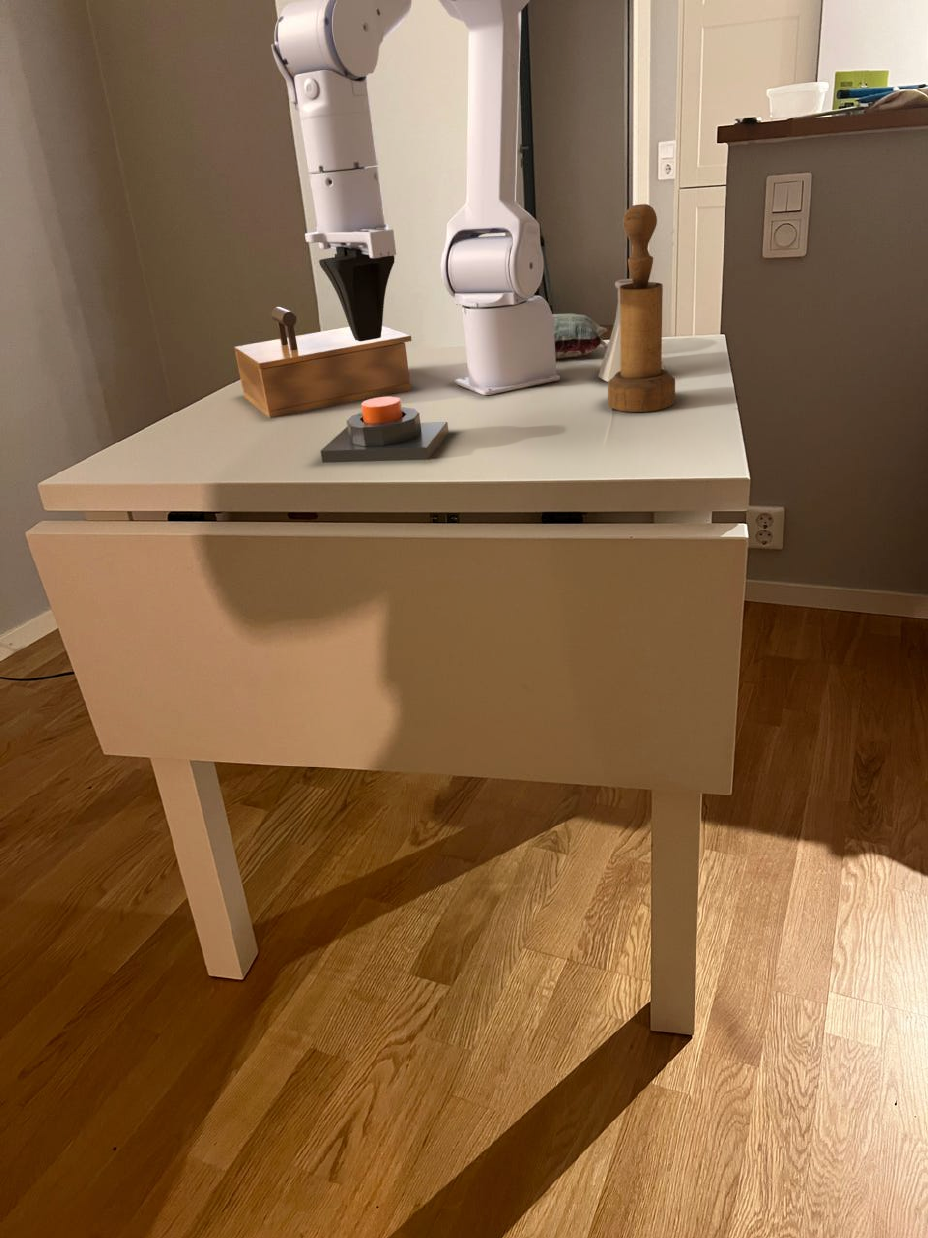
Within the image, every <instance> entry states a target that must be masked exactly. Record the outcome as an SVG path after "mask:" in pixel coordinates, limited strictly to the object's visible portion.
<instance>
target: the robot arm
mask: <svg viewBox="0 0 928 1238" xmlns="http://www.w3.org/2000/svg"><path fill="white" fill-rule="evenodd" d="M412 1H413V0H299V1H294V2H290V3H288V4H287V5H286V6H285V7H284V8H283V10H282V11H281V13H280V16H279V17H278V19H277V21H276V24H275V28H274V43H272V44H271V50H272V54H273V57H274V60H275V63H276V65H277V68H278V70H279V72H280V73H281V75H282V77H283V78H284V79H285V82H286V84H287V88H288V90H289V96H290V102H291V103H292V104H293V108H294V109H295V110H296V111H297V112H298V113H299V119H300V125H301V132H302V139H303V145H304V151H305V157H306V162H307V170H308V173H309V181H310V188H311V194H312V200H313V207H314V214H315V220H316V225H317V226H316V231H314V232H313V231H312V232H306V233H305V234H304V238H305V242H306V243H309V244H315V243H318V246H319V249H320V250H330V249H331V250H335V251H336V253H334V256H332V257H327V258H322V259H321V258H320V259H319V260H318V263H319V267H320V268H321V269H322V271H323V272H324V274H325V275H326V276H327V278H328V279H329V281H330V283H331V285H332V287H333V288H334V290H335V293H336V295H337V298H338V300H339V301H340V304H341V307H342V310H343V312H344V315H345V317H346V322H347V323H348V327H350V329H351V332H352V334H353V336H354V339H355V340H357V341H359V342H361V341H367V340H372V339H377V338H381V332H382V326H383V320H384V306H385V296H386V291H387V287H388V282H389V278H390V275H391V272H392V269H393V266H394V264H395V258H396V257H395V256H396V255H397V249H396V241H395V233H394V232H395V231H394V229H393V228H389V224H388V223H386V218H385V210H384V202H383V194H382V187H381V178H380V171H379V163H378V162H379V161H378V156H377V155H378V154H377V146H376V139H375V131H374V124H373V116H372V108H371V101H370V93H369V92H370V91H369V85H368V78H367V77H368V75H370V74H374V72H375V71H376V68H377V65H378V61H379V53H380V47H381V44H382V43H383V42H384V41H385V40H386V39H387V38H388V37H389V36H390V35H391V34H392V33H393V32H394V31H396V29H397V28H398V27H399V26H400V25H401V24H402V23H403V22H404V21H405V20H406V19H407V17H408V15H409V13H410V12H411V7H412V3H413V2H412ZM438 2H439V4H440V5H441V6H442V7H443V9H444V10H445V11H446V13H447V14H448V16H449V17H451V18H452V19H453V18H454V19H456V20H459V21H461V22H463V23H464V25H465V27H466V28H467V32H468V55H467V57H468V58H467V59H468V62H467V63H468V66H467V67H468V69H467V130H466V131H467V133H466V135H467V137H466V138H467V139H466V201H465V203H464V205H463V206H461V208H460V209H459V210H458V211H457V212H456V213H455V214H454V215H453V217H452V218H451V219H450V220H449V221H448V222H447V224H446V236H445V245H444V248H443V251H442V254H441V259H440V276H441V279H442V282H443V285H444V287H445V289H446V291H447V292H448V293H449V295H450V296H451V297H453V298H454V300H455V305H456V306H461V311H462V312H461V313H462V323H463V334H464V343H465V344H464V345H465V354H466V355H465V356H466V366H467V367H466V368H467V376H466V377H460V378H456V379H455V381H454V382H455V384H456V385H458V386H460V387H462V388H465V389H467V390H470V391H472V392H475V393H477V394H480V395H482V396H490V395H495V394H500V393H504V392H510V391H515V390H519V389H523V388H528V387H529V388H530V387H533V386H538V385H543V384H547V383H552V382H556V381H557V382H558V381H560V380H561V376H560V375H559V374H557V361H556V360H557V359H556V357H555V338H554V322H553V316H552V314H553V313H552V310H551V306H550V305H549V303H548V301H547V300H546V299H545V298H544V297H542V296H540V295H535V293H536V292H537V291H538V289H539V288H540V286H541V283H542V282H543V281H542V280H543V277H544V267H545V263H544V254H543V249H542V244H541V225H540V223H539V222H538V221H537V220H536V218H535V217H533V215H531V214H530V213H529V212H528V211H527V210H525V208H523V207H522V206H521V204H519V203H518V202H517V173H518V141H519V139H518V138H519V137H518V136H519V134H518V133H519V107H520V105H519V102H520V70H521V69H520V67H521V64H520V63H521V35H522V34H521V31H522V10H523V9H524V8H525V7H526V5H528V4H529V2H530V0H438ZM490 234H509V235H492V236H489V235H490ZM484 235H488V236H484Z"/></svg>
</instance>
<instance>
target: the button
mask: <svg viewBox="0 0 928 1238" xmlns="http://www.w3.org/2000/svg"><path fill="white" fill-rule="evenodd" d="M360 407H361V412H362V414H363V420H364V423H385V422H390V421H395V420H398V419H401V418H403V415H402V408H401V407H402V400H401V397H397V396H377V397H372V398H368V399H367V400H364V401H363V402H361V404H360Z"/></svg>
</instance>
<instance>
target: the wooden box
mask: <svg viewBox="0 0 928 1238" xmlns="http://www.w3.org/2000/svg"><path fill="white" fill-rule="evenodd" d="M407 355H408V354H407V347H406V342H404V343H398V344H393V345H387V346H382V347H377V348H371V349H366V350H360V351H355V352H349V353H344V354H339V355H333V356H328V357H322V358H317V359H312V360H306V361H301V362H295V363H290V364H285V365H279V366H274V367H268V368H263V369H260V368H258V367H257V366H255V365H254V364H252V363H251V362H249V361H248V360H246V359H245V358H243V357H242V356H240V355H239V354H237V353H236V352H235V359H236V363H237V368H238V374H239V378H240V383H241V387H242V393H243V397H244V399H246V400H247V401H248V402H249V403H250V404H252V406H254V407H255V408H256V409H258V410H260V411H261V412H262V413H263V414H264V415H265V416H266V417H268V419H271V418H272V419H273V418H276V417H282V416H287V415H292V414H297V413H301V412H305V411H312V410H315V409H320V408H327V407H330V406H336V405H340V404H344V403H345V404H346V403H350V402H351V403H352V402H356V401H360V400H365V399H372V398H377V397H381V396H386V395H393V394H397V393H398V394H399V393H402V392H408V391H411V390H412V388H411V379H410V371H409V364H408V356H407Z"/></svg>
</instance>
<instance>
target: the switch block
mask: <svg viewBox="0 0 928 1238" xmlns="http://www.w3.org/2000/svg"><path fill="white" fill-rule="evenodd" d="M401 408H402V415H403V418H401V419H398V420H395V421H390V422H385V423H364V420H363V414H362V411H361V412H358V413H356V414H353V415H350V417H349V418H348V419H347V420H346V427H345V428H343V430H342V431H340V433H339V434H338V435H336V436H335V437H334V438H333V439H332V440H331V441H330V442H329V443H327V444H326V445H325V446H324V447H323V448H322V449H320V451H319V452H320V458H321V462H322V463H323V464H324V463H356V462H357V463H359V462H360V463H361V462H393V461H394V462H395V461H398V462H399V461H429V459H431V457H432V456H433V454H434V453H435V452H436V451H437V449H438V448H439V446H441V444H442V443H443V441H444V440H445V439H446V438H447V436H448V435H449V434H450V433H449V423H448V421H434V422H432V421H431V422H429V421H428V422H421V417H420V412H419V411H418V410H417V409H416V408H412V407H405V406H401Z"/></svg>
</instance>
